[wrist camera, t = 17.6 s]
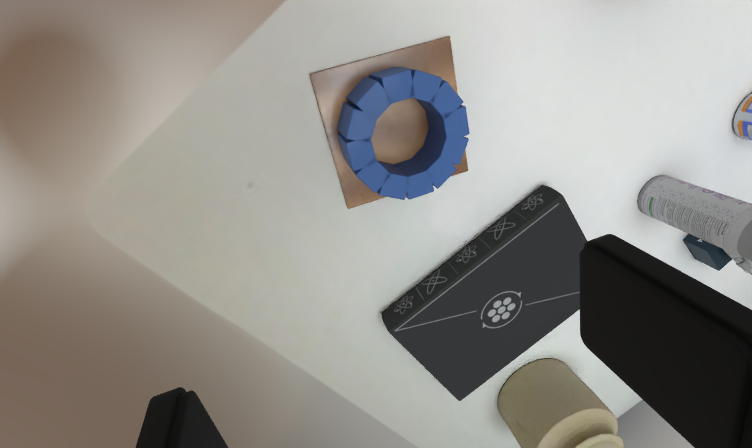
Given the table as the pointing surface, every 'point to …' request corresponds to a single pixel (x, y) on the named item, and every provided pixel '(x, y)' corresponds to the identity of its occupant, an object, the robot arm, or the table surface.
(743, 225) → the container
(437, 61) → the mat
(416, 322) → the book
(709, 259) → the watch
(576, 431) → the sugar bowl
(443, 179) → the ring
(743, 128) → the pill bottle
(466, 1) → the table surface
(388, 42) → the table surface
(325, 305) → the table surface
